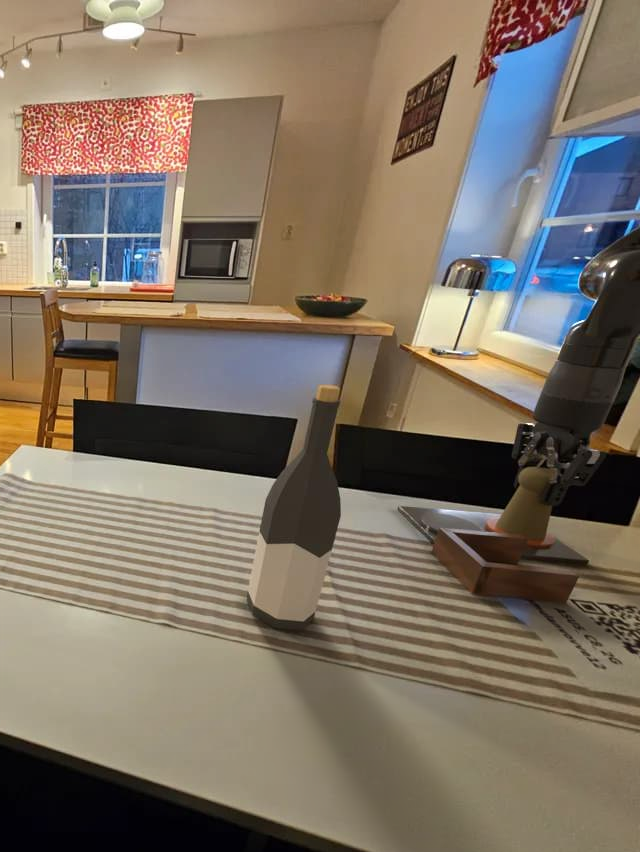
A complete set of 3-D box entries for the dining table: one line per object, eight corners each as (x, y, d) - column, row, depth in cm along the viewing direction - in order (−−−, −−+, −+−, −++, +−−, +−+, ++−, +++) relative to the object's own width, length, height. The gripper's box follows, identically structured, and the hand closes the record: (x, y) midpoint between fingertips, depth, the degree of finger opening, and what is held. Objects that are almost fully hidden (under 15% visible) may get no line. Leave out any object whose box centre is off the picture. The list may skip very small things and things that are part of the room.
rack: (511, 560, 75) (522, 534, 74) (566, 603, 66) (579, 575, 64) (430, 552, 77) (439, 527, 76) (471, 593, 68) (482, 566, 66)
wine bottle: (314, 603, 66) (372, 383, 55) (311, 641, 59) (374, 400, 48) (250, 584, 69) (292, 375, 58) (240, 617, 63) (284, 389, 52)
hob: (521, 519, 87) (523, 513, 87) (587, 564, 74) (591, 557, 74) (397, 509, 90) (399, 503, 90) (439, 550, 78) (442, 543, 77)
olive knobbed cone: (509, 537, 79) (535, 475, 75) (487, 519, 84) (510, 460, 80) (554, 542, 78) (583, 479, 74) (529, 524, 83) (554, 464, 79)
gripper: (654, 408, 65) (600, 520, 72) (567, 383, 78) (528, 479, 85) (588, 405, 67) (541, 515, 73) (514, 381, 80) (479, 476, 86)
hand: (534, 495), depth 79 cm, fingers closed on olive knobbed cone, 5 cm apart
